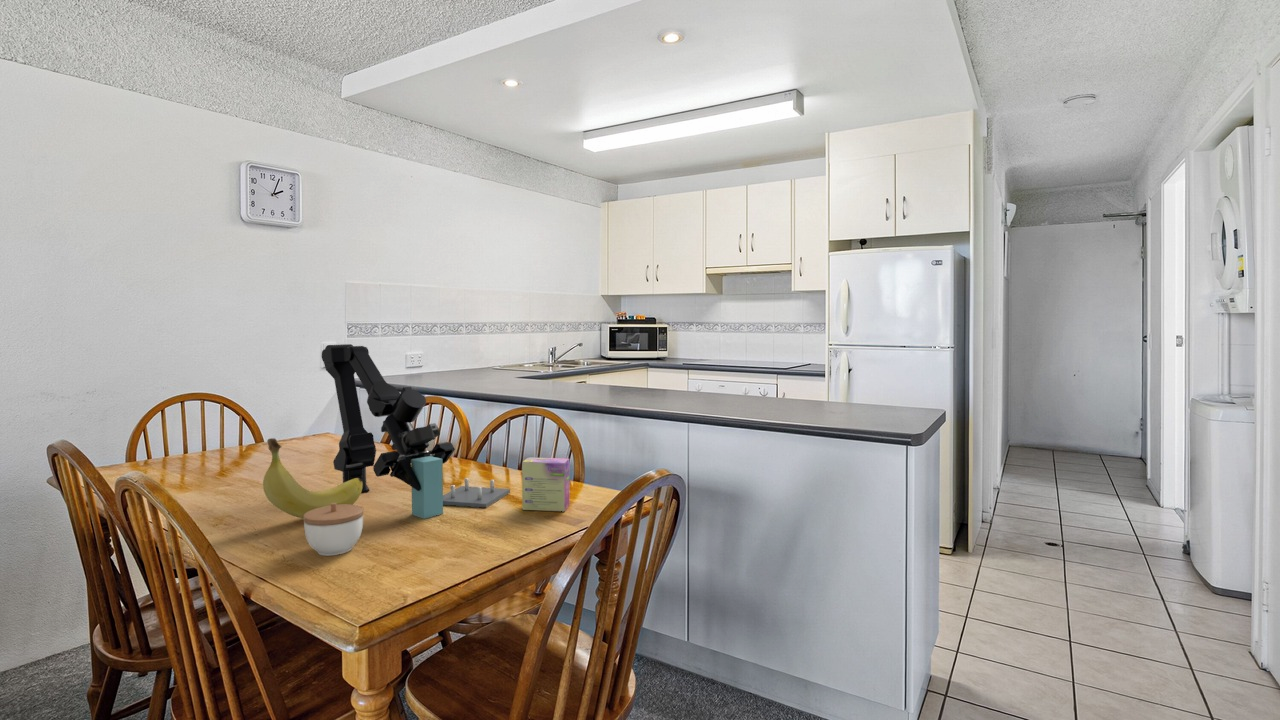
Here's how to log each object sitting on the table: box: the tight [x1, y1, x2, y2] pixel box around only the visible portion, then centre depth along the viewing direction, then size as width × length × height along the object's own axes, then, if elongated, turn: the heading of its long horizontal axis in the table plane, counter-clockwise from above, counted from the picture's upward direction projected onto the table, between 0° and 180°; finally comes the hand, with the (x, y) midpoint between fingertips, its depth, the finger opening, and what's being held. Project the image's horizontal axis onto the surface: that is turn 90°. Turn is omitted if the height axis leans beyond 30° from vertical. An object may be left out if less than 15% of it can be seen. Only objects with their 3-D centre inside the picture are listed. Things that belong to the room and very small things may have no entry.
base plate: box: [443, 477, 511, 508], centre depth 165 cm, size 14×14×4 cm
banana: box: [262, 437, 363, 519], centre depth 148 cm, size 23×6×20 cm, turn 146°
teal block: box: [411, 456, 444, 520], centre depth 152 cm, size 5×5×13 cm
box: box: [521, 456, 571, 513], centre depth 157 cm, size 10×6×12 cm, turn 84°
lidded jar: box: [302, 503, 364, 557], centre depth 128 cm, size 11×11×9 cm
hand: (430, 487), depth 151 cm, fingers closed on teal block, 5 cm apart
